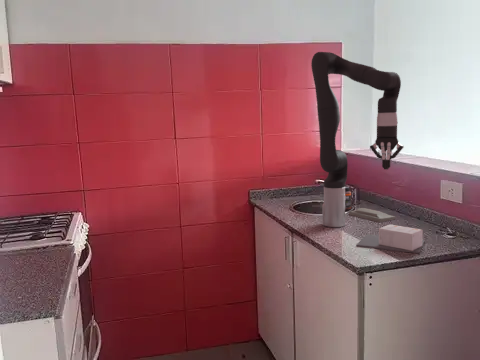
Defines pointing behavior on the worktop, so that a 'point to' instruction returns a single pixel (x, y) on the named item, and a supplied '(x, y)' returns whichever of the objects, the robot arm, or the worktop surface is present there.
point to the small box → (400, 237)
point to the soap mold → (371, 215)
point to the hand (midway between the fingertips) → (386, 169)
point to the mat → (373, 242)
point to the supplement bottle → (347, 198)
